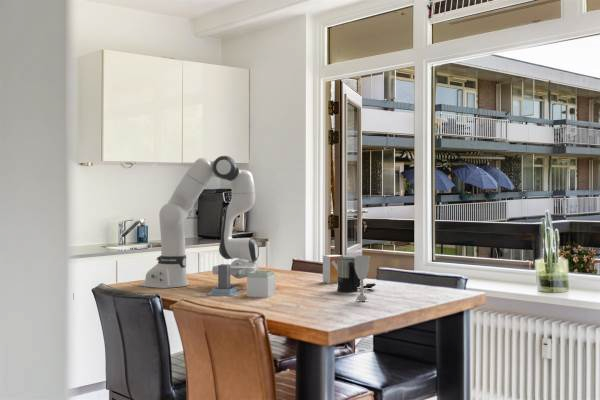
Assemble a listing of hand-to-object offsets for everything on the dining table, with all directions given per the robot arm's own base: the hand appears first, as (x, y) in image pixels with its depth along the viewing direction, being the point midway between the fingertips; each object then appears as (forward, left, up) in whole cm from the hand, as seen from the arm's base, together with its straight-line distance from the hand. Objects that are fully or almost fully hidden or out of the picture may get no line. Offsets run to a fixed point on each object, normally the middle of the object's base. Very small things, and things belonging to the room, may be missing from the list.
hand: (228, 272), depth 277 cm
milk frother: (+54, +19, -9) cm, 58 cm away
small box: (+38, +40, -9) cm, 56 cm away
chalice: (+61, -6, -9) cm, 62 cm away
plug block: (0, -4, -8) cm, 9 cm away
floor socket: (0, -4, -8) cm, 9 cm away
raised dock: (+17, -4, -8) cm, 19 cm away
